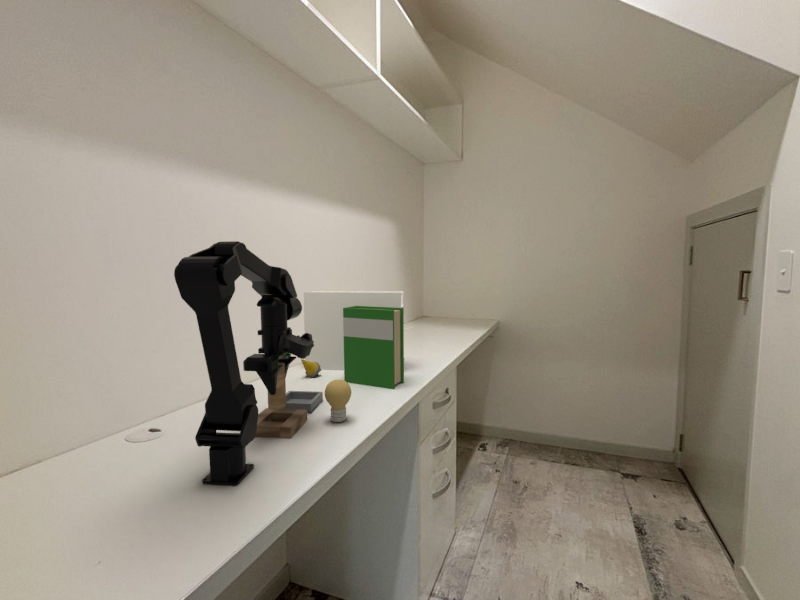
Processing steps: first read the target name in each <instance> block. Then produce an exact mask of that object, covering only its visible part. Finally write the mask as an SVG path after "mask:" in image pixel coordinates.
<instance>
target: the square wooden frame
mask: <svg viewBox="0 0 800 600" xmlns="http://www.w3.org/2000/svg"><path fill="white" fill-rule="evenodd" d="M307 421H308V413H307V410H302V409H277V410H272V409H269V408H268V407H266V408H264V409H263V410H262V411H261V412H260V413H258V421H257V430H256V437H255V438H276V439H278V438H279V439H292V437H294V436H295V435H296V434H297V432H298V431H299V430H300V429H301V427H302V426H304V424H305V423H306V422H307Z"/></svg>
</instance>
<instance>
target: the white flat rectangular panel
mask: <svg viewBox="0 0 800 600" xmlns="http://www.w3.org/2000/svg"><path fill="white" fill-rule="evenodd" d="M352 306H371V307H392V308H403V313H404V314H405V291H404V290H310V291H303V319H304V321H303V322H304V323H303V324H304V334H305V333H309V334H311V335H312V340H313V341H314V343H313V344H314V347H312V349H311V352H310V355H309V356H307V357H306V358H305V359H304V360H306V361H310V362H317V363H318V364H319V365H320V369H321V371H343V372H344V330H343V308H346V307H352Z"/></svg>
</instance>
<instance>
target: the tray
mask: <svg viewBox="0 0 800 600" xmlns="http://www.w3.org/2000/svg"><path fill="white" fill-rule="evenodd" d="M323 397H324V392H323V391H312V390H311V391H309V390H308V391H307V390H305V391H304V390H303V391H302V390H288V391H286V407H285V408H282V409H302V410H307V414H312V413H313V412H314V411H315V410H316V409H317V408H318V407H319V405H320V404H321V403H322V402H323V401H324V398H323Z"/></svg>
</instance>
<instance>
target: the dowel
mask: <svg viewBox="0 0 800 600" xmlns="http://www.w3.org/2000/svg"><path fill="white" fill-rule="evenodd" d="M279 365H283V367H282V368H281V369H280V370H279V371H278V373H277V384H276V393H275V395H270V394H269V392H268V391H267V408H269V409H272V410H277V409H282V408H285V407H286V393H287V390H286V388H287V387H286V385H287V384H286V383H287V382H286V378H285V363H283V362H279Z"/></svg>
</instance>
